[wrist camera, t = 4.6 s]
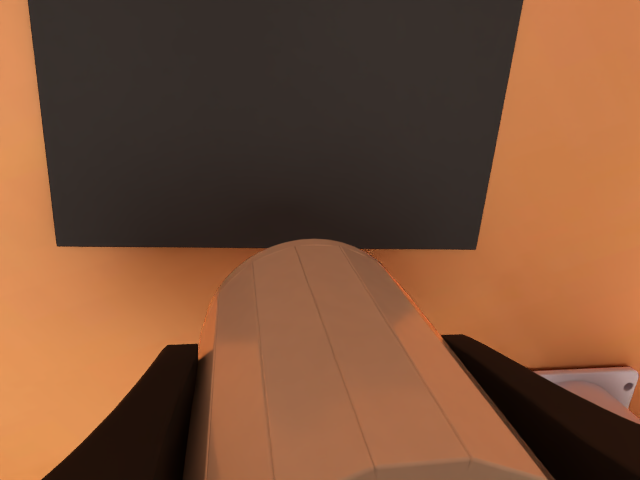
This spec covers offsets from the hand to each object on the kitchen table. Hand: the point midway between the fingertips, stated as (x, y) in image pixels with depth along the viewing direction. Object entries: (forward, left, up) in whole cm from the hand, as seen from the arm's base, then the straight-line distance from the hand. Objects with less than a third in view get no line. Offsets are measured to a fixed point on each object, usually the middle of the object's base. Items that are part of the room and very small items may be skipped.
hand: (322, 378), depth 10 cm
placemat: (+6, 0, -9) cm, 11 cm away
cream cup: (0, 0, -2) cm, 2 cm away
